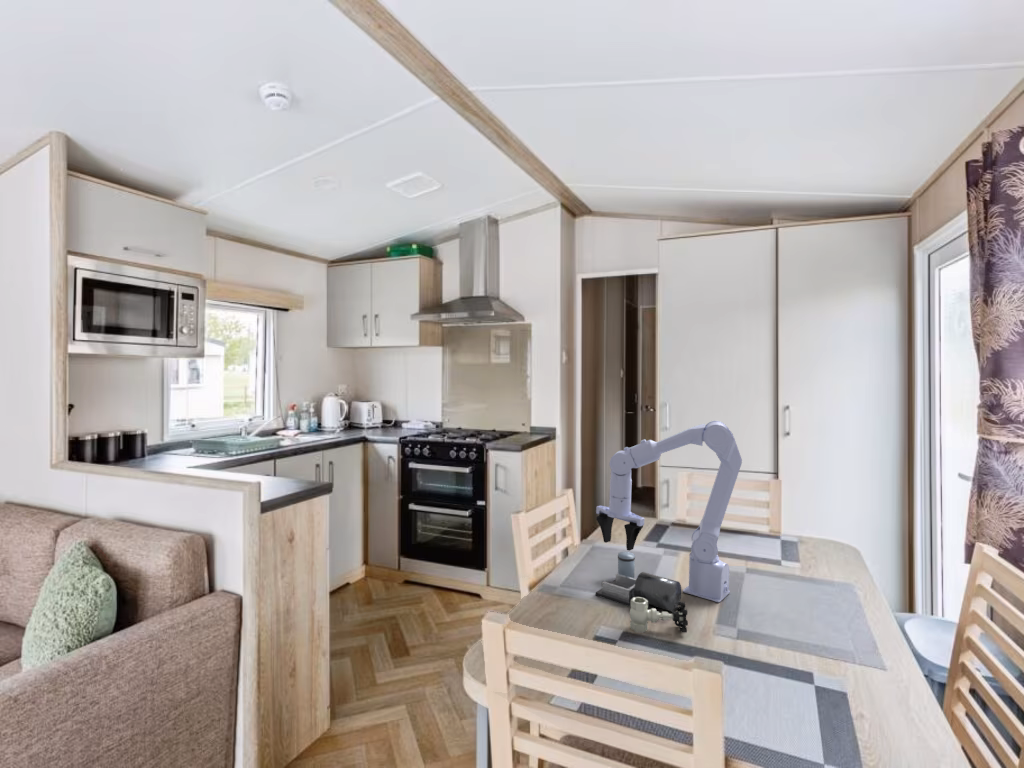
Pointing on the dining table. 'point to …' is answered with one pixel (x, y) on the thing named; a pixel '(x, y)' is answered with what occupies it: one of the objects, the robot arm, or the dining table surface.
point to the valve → (654, 615)
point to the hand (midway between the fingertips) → (618, 545)
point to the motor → (643, 590)
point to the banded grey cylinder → (626, 564)
